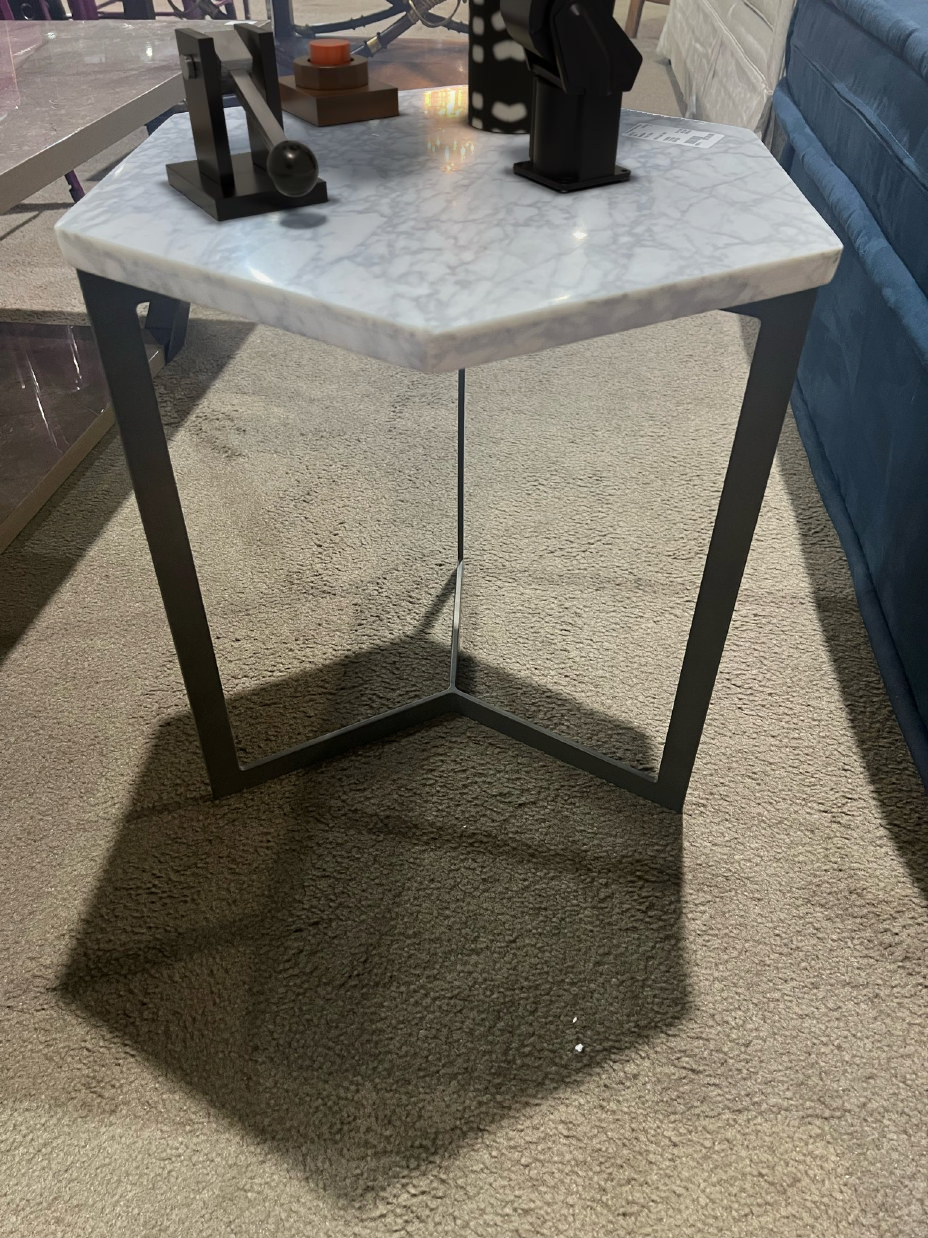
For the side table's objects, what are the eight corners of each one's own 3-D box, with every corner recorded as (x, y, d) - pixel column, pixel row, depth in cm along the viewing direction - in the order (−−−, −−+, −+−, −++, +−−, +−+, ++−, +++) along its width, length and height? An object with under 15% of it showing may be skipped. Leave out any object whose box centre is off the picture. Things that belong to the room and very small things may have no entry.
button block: (399, 115, 83) (397, 63, 81) (318, 126, 80) (313, 73, 77) (348, 94, 90) (345, 46, 87) (272, 104, 86) (266, 54, 84)
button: (358, 65, 82) (356, 43, 81) (321, 70, 81) (319, 46, 80) (340, 59, 84) (338, 37, 83) (303, 63, 83) (301, 40, 82)
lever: (324, 203, 59) (330, 160, 56) (278, 211, 58) (281, 168, 55) (241, 68, 63) (243, 21, 60) (196, 73, 62) (195, 26, 59)
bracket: (328, 201, 64) (313, 35, 58) (218, 220, 61) (189, 47, 54) (270, 166, 70) (252, 14, 64) (168, 183, 67) (137, 24, 61)
